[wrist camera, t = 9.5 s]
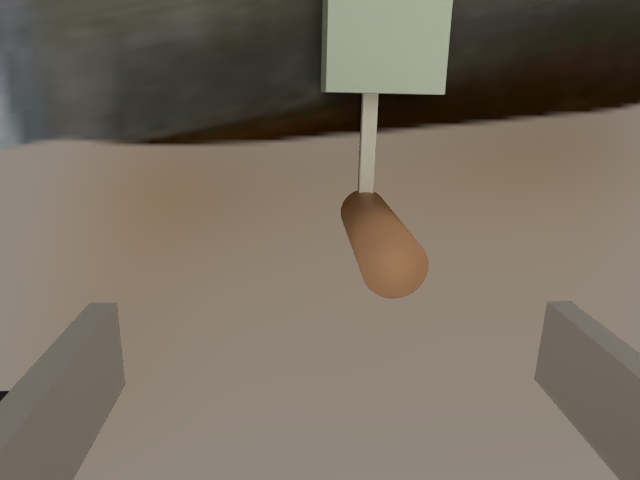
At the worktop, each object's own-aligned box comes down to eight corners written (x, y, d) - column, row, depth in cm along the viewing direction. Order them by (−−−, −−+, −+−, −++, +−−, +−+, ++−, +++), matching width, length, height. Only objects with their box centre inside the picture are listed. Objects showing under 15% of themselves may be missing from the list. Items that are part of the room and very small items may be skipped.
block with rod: (317, 233, 33) (327, 298, 23) (322, -16, 29) (337, -78, 19) (407, 234, 34) (457, 298, 23) (425, -13, 30) (496, -72, 19)
